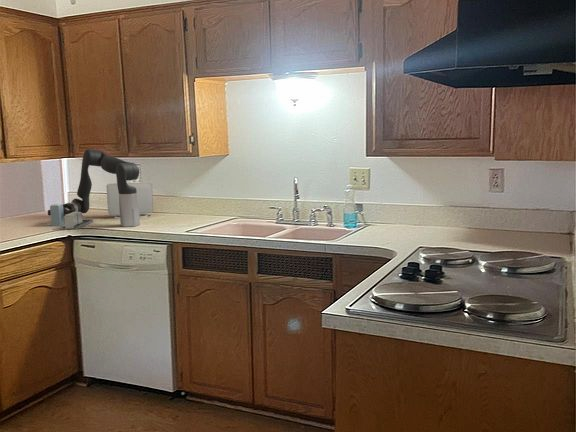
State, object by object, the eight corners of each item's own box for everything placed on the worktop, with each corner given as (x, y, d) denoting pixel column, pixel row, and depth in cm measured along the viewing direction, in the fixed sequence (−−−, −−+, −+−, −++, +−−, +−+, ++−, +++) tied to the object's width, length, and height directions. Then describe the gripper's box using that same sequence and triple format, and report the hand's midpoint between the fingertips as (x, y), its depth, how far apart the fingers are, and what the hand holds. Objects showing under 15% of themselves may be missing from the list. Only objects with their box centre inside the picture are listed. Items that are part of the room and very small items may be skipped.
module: (56, 224, 320) (54, 203, 318) (64, 224, 320) (62, 203, 318) (51, 226, 314) (49, 205, 312) (59, 226, 314) (58, 204, 312)
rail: (79, 222, 325) (78, 209, 324) (92, 222, 325) (92, 208, 324) (62, 229, 302) (61, 215, 301) (77, 229, 302) (76, 214, 301)
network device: (108, 219, 335) (106, 184, 332) (108, 217, 344) (106, 183, 341) (154, 216, 343) (152, 182, 340) (152, 214, 351) (150, 181, 348)
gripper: (56, 203, 331) (43, 206, 315) (80, 202, 330) (69, 206, 314) (57, 216, 332) (44, 220, 316) (81, 215, 331) (70, 220, 315)
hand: (56, 213), depth 315 cm, fingers open, 8 cm apart
